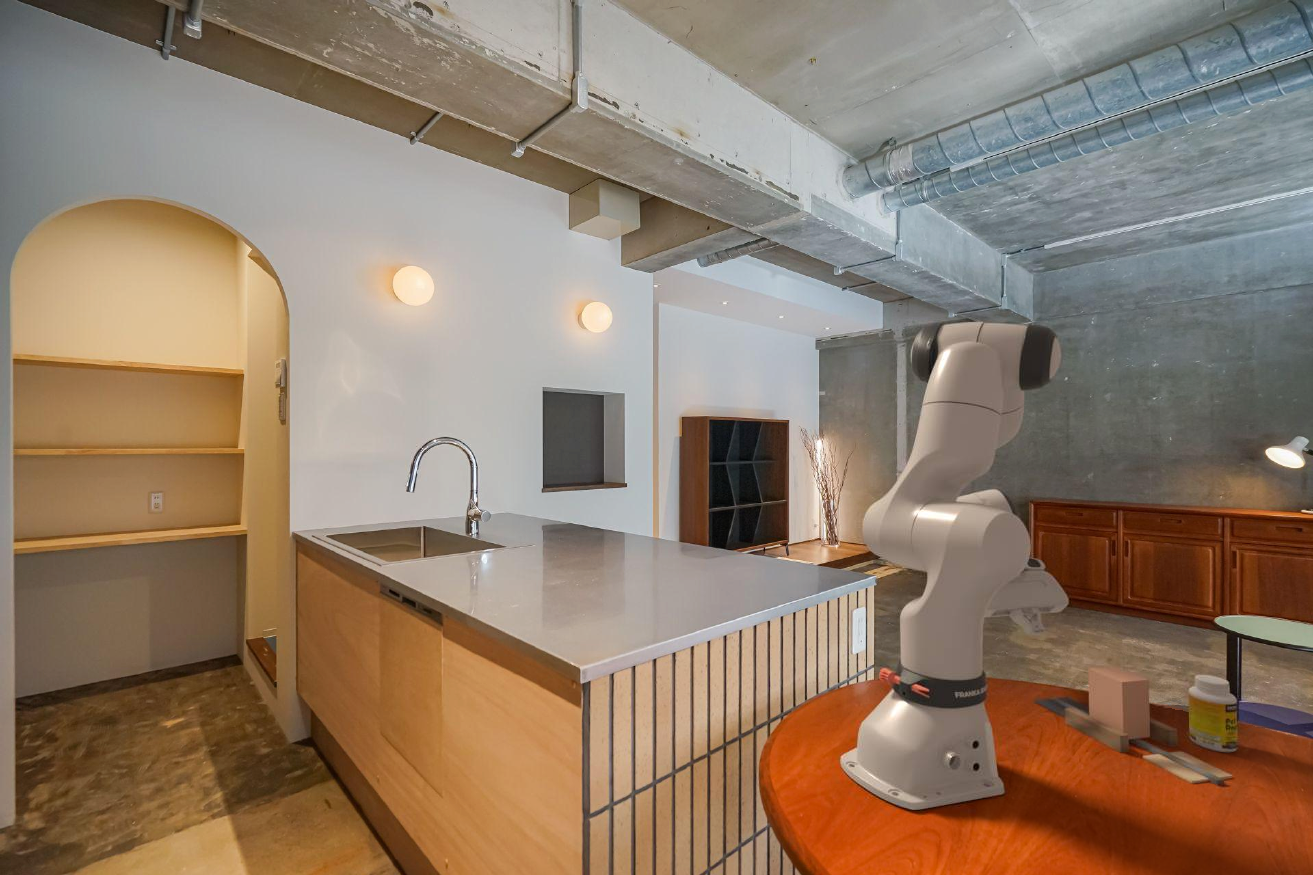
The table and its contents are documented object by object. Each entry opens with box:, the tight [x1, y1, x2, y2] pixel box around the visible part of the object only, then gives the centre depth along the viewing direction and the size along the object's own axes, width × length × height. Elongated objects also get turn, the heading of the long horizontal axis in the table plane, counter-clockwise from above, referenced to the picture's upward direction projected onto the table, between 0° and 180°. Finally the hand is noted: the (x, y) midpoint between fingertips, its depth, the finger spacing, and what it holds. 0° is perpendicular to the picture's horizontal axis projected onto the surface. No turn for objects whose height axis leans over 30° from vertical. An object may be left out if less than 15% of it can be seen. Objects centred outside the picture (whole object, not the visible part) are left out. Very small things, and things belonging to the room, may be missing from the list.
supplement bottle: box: [1188, 674, 1239, 753], centre depth 94 cm, size 6×6×10 cm
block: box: [1087, 665, 1151, 739], centre depth 98 cm, size 6×5×9 cm
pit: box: [1033, 696, 1089, 718], centre depth 108 cm, size 7×7×1 cm
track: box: [1049, 697, 1225, 786], centre depth 97 cm, size 28×10×2 cm, turn 10°
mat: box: [1142, 750, 1234, 784], centre depth 88 cm, size 7×7×1 cm
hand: (1037, 633), depth 114 cm, fingers closed
